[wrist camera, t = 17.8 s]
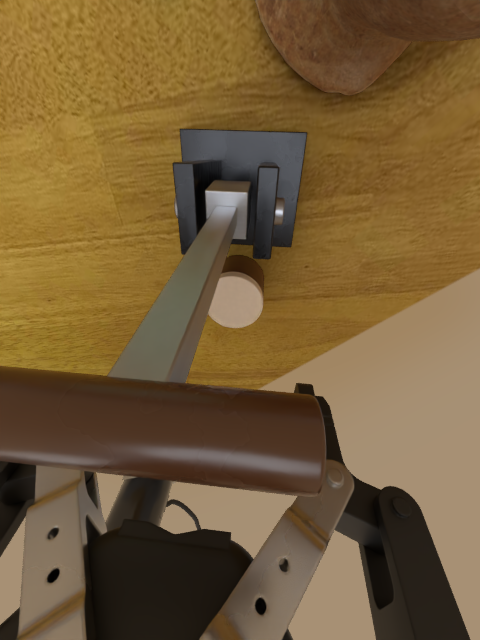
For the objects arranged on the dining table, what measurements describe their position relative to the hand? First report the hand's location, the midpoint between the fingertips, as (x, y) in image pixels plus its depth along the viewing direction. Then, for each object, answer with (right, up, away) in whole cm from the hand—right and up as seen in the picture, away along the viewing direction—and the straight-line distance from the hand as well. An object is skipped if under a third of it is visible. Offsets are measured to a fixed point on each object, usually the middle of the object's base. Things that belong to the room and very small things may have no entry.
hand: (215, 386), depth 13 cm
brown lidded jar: (+1, +7, +13) cm, 15 cm away
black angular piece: (+1, +14, +8) cm, 16 cm away
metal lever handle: (0, +5, -3) cm, 6 cm away
